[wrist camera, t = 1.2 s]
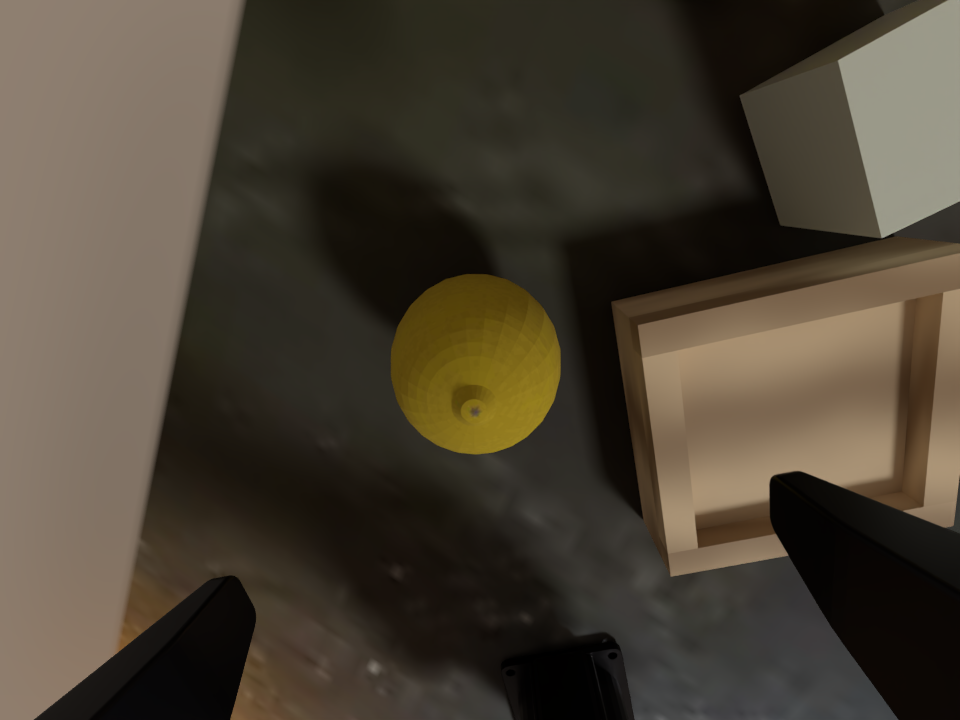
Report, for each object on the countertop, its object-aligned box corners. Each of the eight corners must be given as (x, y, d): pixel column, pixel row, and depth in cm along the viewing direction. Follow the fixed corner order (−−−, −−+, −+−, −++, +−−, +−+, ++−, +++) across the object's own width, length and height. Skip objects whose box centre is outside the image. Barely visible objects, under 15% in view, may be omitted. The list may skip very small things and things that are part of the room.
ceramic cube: (913, 158, 17) (1071, 147, 13) (779, 225, 18) (881, 238, 14) (882, 15, 16) (1050, -57, 11) (738, 96, 17) (837, 60, 12)
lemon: (512, 405, 21) (529, 529, 13) (392, 360, 20) (338, 463, 13) (567, 289, 19) (622, 355, 11) (437, 236, 18) (406, 269, 11)
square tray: (882, 475, 22) (953, 526, 19) (643, 520, 23) (671, 576, 19) (895, 236, 18) (987, 246, 15) (611, 301, 19) (638, 325, 16)
